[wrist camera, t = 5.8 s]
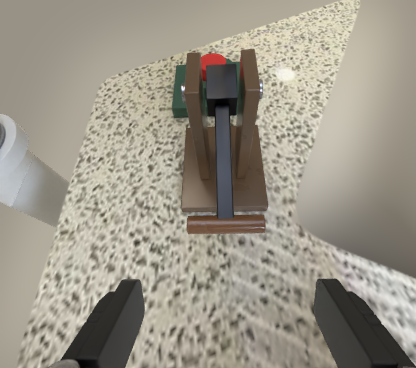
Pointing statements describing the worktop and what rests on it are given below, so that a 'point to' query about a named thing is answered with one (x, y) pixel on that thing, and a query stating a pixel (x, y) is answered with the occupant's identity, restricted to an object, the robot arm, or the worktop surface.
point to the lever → (223, 158)
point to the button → (211, 62)
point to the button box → (177, 104)
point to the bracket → (240, 142)
